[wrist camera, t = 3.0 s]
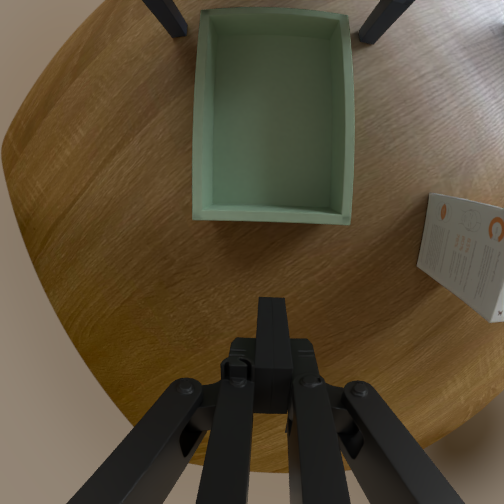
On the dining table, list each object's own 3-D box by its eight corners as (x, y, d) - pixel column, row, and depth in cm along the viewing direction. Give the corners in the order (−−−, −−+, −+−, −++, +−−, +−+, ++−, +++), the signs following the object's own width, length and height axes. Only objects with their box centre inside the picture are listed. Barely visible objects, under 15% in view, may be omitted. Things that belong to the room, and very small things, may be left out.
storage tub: (211, 33, 21) (200, 9, 16) (335, 37, 21) (348, 15, 16) (205, 211, 26) (192, 220, 21) (335, 215, 26) (350, 225, 21)
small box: (456, 270, 26) (528, 321, 14) (414, 266, 26) (488, 325, 14) (469, 201, 24) (554, 226, 12) (428, 190, 24) (518, 211, 12)
